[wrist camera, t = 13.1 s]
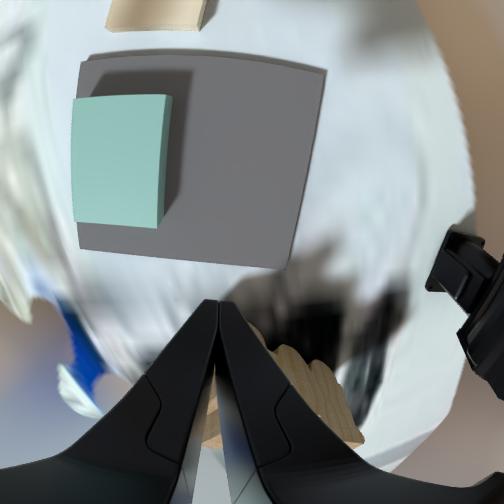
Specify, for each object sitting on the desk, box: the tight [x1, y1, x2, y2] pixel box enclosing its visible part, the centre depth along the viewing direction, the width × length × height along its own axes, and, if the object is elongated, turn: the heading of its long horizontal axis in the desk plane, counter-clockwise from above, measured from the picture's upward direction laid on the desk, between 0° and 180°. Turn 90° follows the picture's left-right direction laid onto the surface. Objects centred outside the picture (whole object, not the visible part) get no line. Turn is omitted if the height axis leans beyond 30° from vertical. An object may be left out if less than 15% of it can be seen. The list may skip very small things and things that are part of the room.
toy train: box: [202, 322, 365, 450], centre depth 22 cm, size 6×17×10 cm, turn 50°
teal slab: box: [71, 94, 173, 228], centre depth 15 cm, size 2×8×6 cm
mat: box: [76, 55, 324, 270], centre depth 17 cm, size 16×14×1 cm
